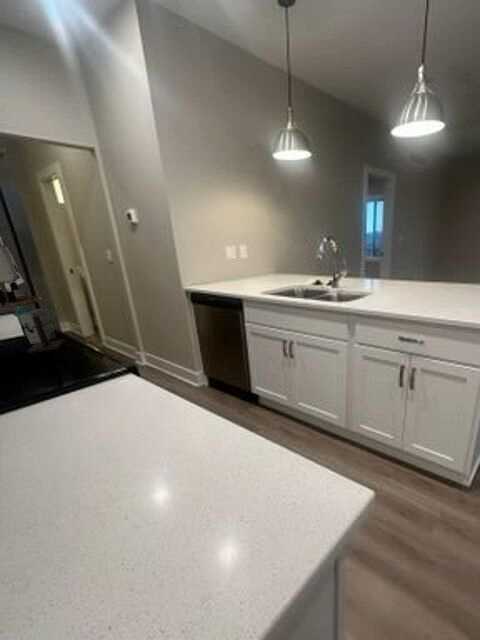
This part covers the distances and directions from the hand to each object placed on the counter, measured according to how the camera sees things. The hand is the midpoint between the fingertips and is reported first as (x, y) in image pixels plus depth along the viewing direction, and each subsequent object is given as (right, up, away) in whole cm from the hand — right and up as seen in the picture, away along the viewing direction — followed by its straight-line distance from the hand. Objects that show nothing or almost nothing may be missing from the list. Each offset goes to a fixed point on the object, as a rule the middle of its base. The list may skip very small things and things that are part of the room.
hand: (9, 304), depth 109 cm
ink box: (-7, -10, +25) cm, 28 cm away
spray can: (-18, -8, +33) cm, 38 cm away
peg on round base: (+1, -14, +15) cm, 21 cm away
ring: (+4, +1, +1) cm, 4 cm away
